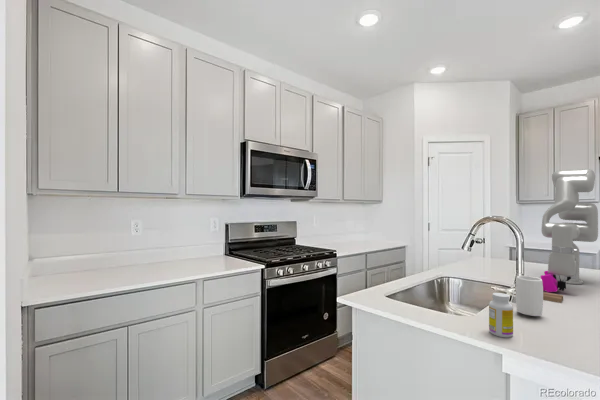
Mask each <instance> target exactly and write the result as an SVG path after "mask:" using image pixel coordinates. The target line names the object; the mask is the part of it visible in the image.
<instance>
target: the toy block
mask: <svg viewBox="0 0 600 400" xmlns="http://www.w3.org/2000/svg"><path fill="white" fill-rule="evenodd" d="M543 272H544V275H543V274H542V275H540V279H542V283H543V292H547V293H554V292H558V290H559V288H558V287H557V284H558V281H557V280H556V279H555V278H554V277H552V276H551V274H549V275H547V273H548V270H544V271H543ZM555 275H556V274H555Z"/></svg>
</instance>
